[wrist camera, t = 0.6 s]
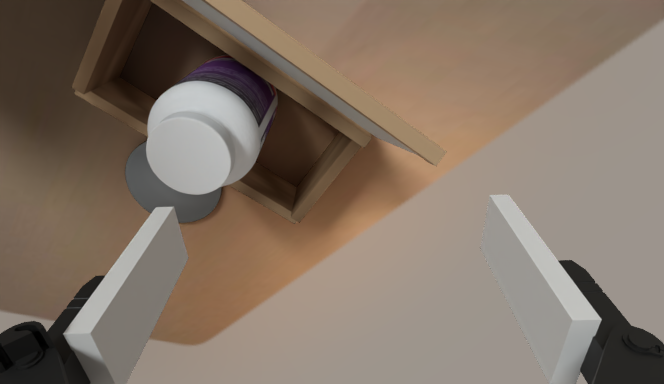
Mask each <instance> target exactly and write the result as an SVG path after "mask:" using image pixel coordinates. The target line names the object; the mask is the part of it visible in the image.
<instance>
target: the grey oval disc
mask: <svg viewBox="0 0 664 384" xmlns="http://www.w3.org/2000/svg"><path fill="white" fill-rule="evenodd" d="M146 144H147V141H145V142H144V143H142V144H141V145H139V146H138V147H137V148H136V149H135V150H134V151H133V152H132V153H131V155H130V156H129V158H128V160H127V163H126V168H125V176H126V182H127V185H128V188H129V190H130V192H131V194H132V195H133V197H134V198H135V200H136V201H137V202H138V203H139V204H140V205H141V206H142V207H143V208H144V209H146V210H147V211H148V212H150V213H152V212H153V210H154V209H155V208H156V207H174V209H175V212H176V216H177V219H178V222H180V223H185V222H193V221H196V220H200V219H202V218H204V217H205V216H207V215H208V214H209V213H211V212H212V211H213V209H214V208H215V207H216V205H217V203H218V201H219V199H220V196H221V192H222V187H219V188H218V189H216V190H214V191H212V192H210V193H206V194H200V195H193V194H186V193H182V192H179V191H176V190H174V189H172V188H171V187H169V186H167V185H166V184H165V183H163V182H162V181H161V180H160V179H159V178H158V177H157V176H156V174H155V173H154V172H153V170H152V169H151V167H150V164H149V162H148V159H147V155H146Z"/></svg>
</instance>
